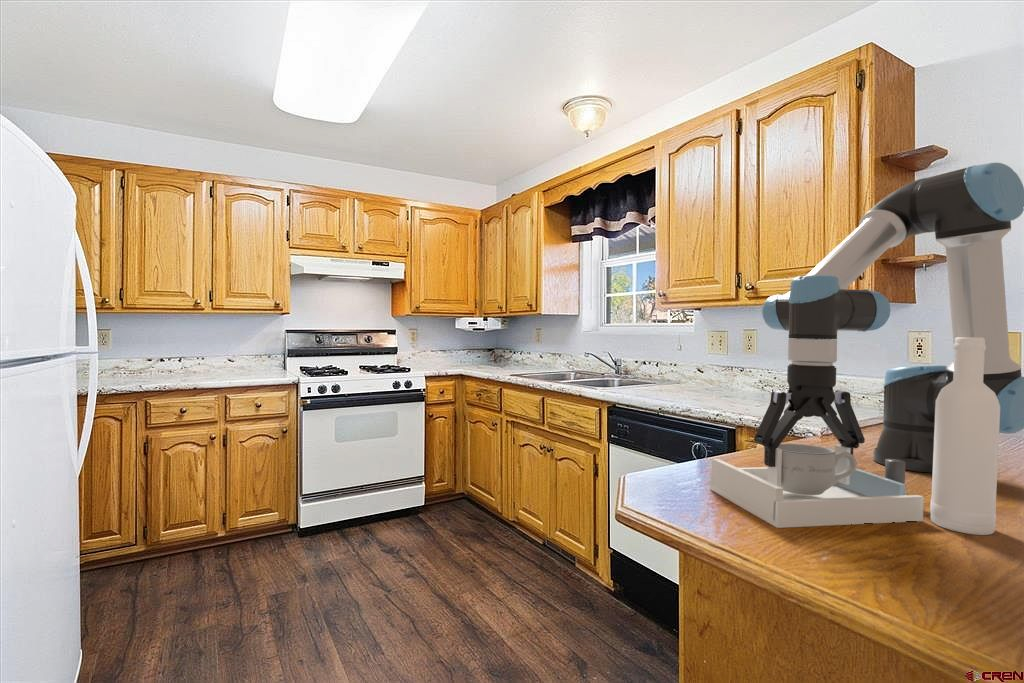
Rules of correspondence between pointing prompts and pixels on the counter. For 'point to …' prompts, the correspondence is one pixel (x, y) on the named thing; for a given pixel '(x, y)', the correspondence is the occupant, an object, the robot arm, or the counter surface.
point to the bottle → (966, 446)
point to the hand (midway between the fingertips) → (808, 483)
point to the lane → (808, 501)
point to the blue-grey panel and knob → (879, 481)
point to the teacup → (811, 468)
